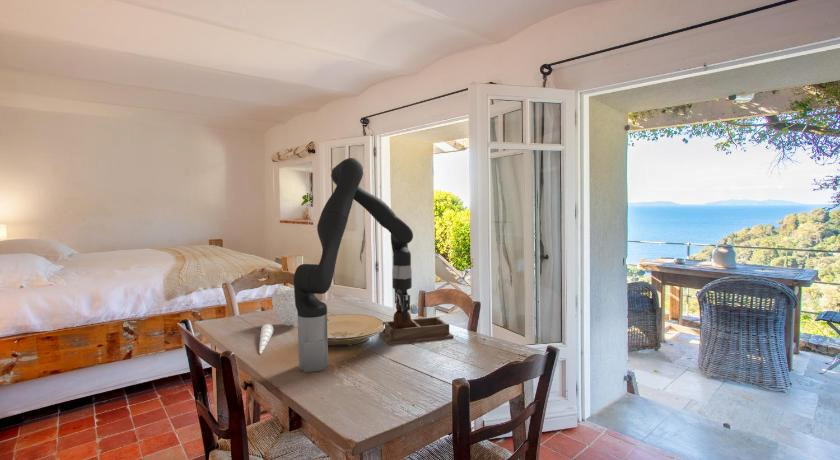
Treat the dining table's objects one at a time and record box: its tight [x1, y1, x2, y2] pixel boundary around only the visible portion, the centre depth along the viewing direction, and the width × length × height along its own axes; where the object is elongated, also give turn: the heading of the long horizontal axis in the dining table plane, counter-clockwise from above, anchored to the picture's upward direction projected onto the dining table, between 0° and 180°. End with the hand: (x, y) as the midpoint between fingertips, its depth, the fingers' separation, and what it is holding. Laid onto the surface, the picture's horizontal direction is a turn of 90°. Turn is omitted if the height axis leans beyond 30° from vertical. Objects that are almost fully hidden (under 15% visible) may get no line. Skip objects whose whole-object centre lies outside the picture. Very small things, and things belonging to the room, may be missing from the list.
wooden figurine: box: [392, 299, 412, 329], centre depth 162 cm, size 7×6×15 cm
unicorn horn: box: [258, 323, 275, 355], centre depth 155 cm, size 5×24×5 cm, turn 11°
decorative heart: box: [271, 285, 298, 328], centre depth 178 cm, size 18×11×17 cm, turn 57°
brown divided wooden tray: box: [379, 316, 455, 346], centre depth 164 cm, size 16×26×5 cm, turn 108°
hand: (402, 317), depth 162 cm, fingers closed on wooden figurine, 7 cm apart
